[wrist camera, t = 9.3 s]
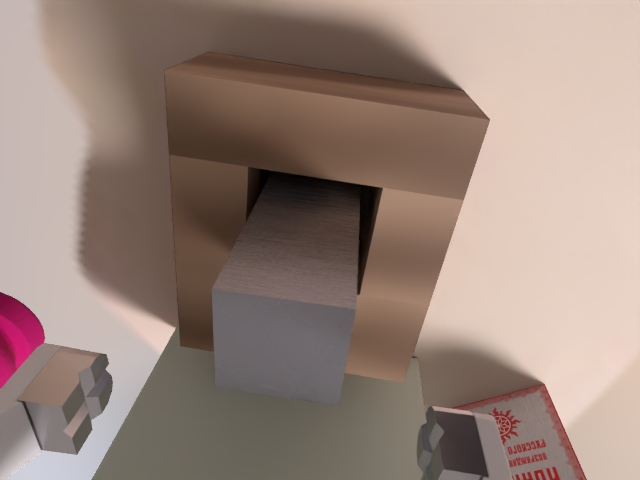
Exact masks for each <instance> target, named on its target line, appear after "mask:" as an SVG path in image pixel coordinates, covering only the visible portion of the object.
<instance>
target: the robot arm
mask: <svg viewBox="0 0 640 480" xmlns="http://www.w3.org/2000/svg"><path fill="white" fill-rule="evenodd" d="M108 364H109V363H108V358H107V355H106V354H101V353H95V352H90V351H85V350H80V349H75V348H69V347H64V346H58V345H52V344H46V343H44V344H42V345H40V346H39V347H37V348H36V349H35V350H34V351H33V352H32V354H31V355H30V356H29V357H28V358H27V359H26V360H25V362H24V363H23V364H22V365H21V366H20V367H19V368H18V370H17V371H16V372H15V373H14V374H13V375H12V376H11V377H10V379H9V380H8V381H7V382H6V383H5V384H4V385H3V387H2V388H1V389H0V480H5V479H7V478H8V477H9V476H11V475H12V474H13V473H15V472H16V471H17V470H19V469H20V468H21V467H23V466H24V465H25V464H26V463H28V462H29V461H30V460H32V459H33V458H34V457H36V456H37V455H38V454H40V453H41V450H47V451H54V452H61V453H68V454H76V455H77V454H78V452H79V451H80V449H81V447H82V446H83V444H84V442H85V441H86V439H87V437H88V435H89V434H90V432H91V431H92V425H91V420H92V419H94V418H95V417H97V416H98V415H100V414H101V413H102V412H103V410H104V409H105V407H106V405H107V403H108V401H109V398H110V395H111V392H112V383H113V382H112V376H111V375H110V374H109V373H108V372H107V371H106V370H105V369H106V367H107V365H108ZM426 421H427V423H425V424H423V425H421V428H420V430H419V433H418V439H417V465H418V466H419V467H420V469H421V470H422V472H423V475H422V478H421V480H513V478H512V475H511V472H510V468H509V465H508V461H507V458H506V454H505V451H504V447H503V444H502V440H501V437H500V433H499V430H498V426H497V423H496V420H495V418H494V417H493V416H492V415H487V414H480V413H474V412H470V411H464V410H457V409H450V408H443V407H437V406H430V407H429V408H428V411H427V413H426Z"/></svg>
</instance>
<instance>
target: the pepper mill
mask: <svg viewBox="0 0 640 480" xmlns="http://www.w3.org/2000/svg"><path fill="white" fill-rule="evenodd" d="M44 339H45V336H44V330H43V327H42V325H41V323H40V321H39V320H38V318H37V317H36V316H35V314H34V313H33V312H32V311H31V310H30V309H29V308H27V307H26V306H25V305H24V304H23V303H21V302H20V301H18V300H17V299H15V298H13V297H11V296H9V295H6V294H4V293H1V292H0V389H1V388H2V387H3V385H4V384H5V383H6V382H7V381H8V380H9V379H10V377H11V376H12V375H13V374H14V373H15V372H16V371H17V370H18V368H19V367H20V366H21V365H22V364H23V363H24V362H25V360H26V359H27V358H28V357H29V356H30V355H31V354H32V352H33V351H34V350H35V349H36V348H37V347H39V346H40V345H42V344H44Z"/></svg>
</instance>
